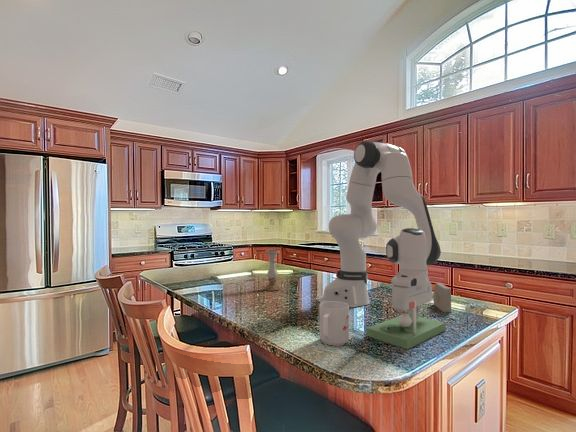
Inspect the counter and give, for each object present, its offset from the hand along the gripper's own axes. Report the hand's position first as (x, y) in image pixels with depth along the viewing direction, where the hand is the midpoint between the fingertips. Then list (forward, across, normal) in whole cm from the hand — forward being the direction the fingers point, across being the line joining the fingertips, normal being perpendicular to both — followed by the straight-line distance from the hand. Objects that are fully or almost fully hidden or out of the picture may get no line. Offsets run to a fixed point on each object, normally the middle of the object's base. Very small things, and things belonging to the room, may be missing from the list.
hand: (413, 319), depth 109 cm
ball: (-1, +6, 0) cm, 6 cm away
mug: (+4, +28, -11) cm, 31 cm away
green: (+4, +4, 0) cm, 5 cm away
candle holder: (+4, -4, -80) cm, 80 cm away
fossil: (+4, -34, -6) cm, 35 cm away
